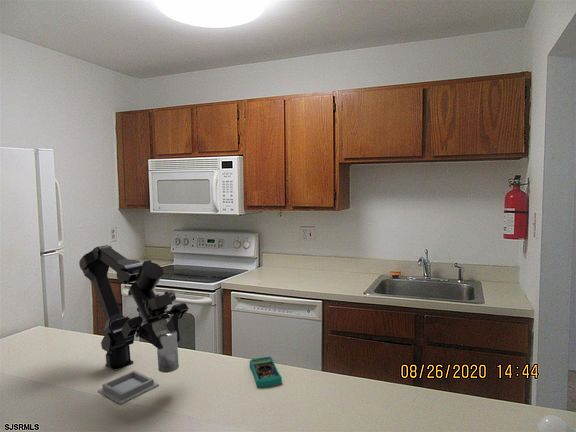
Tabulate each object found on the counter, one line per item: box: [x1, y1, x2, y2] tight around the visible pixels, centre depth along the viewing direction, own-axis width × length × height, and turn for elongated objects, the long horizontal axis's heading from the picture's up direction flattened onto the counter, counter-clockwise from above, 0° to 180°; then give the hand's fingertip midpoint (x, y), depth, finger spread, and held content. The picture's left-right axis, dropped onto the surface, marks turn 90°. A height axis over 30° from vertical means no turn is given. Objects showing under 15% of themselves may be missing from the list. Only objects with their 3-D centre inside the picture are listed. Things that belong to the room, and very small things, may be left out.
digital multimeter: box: [249, 356, 283, 388], centre depth 124 cm, size 7×15×3 cm, turn 14°
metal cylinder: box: [155, 329, 180, 374], centre depth 115 cm, size 6×6×10 cm
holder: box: [97, 370, 160, 405], centre depth 119 cm, size 12×12×2 cm
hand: (169, 344), depth 114 cm, fingers closed on metal cylinder, 5 cm apart
